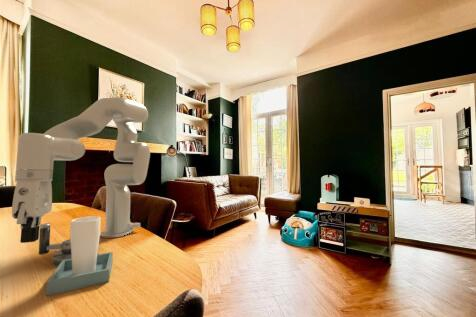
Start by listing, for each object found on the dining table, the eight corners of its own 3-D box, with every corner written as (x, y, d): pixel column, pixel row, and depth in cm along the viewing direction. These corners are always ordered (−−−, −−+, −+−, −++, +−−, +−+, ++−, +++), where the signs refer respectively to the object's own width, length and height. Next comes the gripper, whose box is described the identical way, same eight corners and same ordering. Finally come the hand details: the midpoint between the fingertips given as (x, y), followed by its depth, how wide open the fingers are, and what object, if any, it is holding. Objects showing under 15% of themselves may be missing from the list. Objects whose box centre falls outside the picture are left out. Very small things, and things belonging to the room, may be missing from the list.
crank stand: (88, 260, 65) (88, 250, 65) (50, 268, 59) (51, 258, 59) (87, 244, 77) (87, 236, 77) (56, 250, 72) (56, 242, 72)
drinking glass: (74, 283, 50) (76, 223, 51) (64, 275, 54) (66, 219, 55) (103, 271, 56) (105, 218, 57) (92, 265, 60) (94, 214, 60)
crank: (83, 246, 69) (84, 219, 69) (77, 252, 64) (79, 223, 65) (43, 251, 65) (44, 222, 65) (34, 257, 60) (36, 226, 60)
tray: (112, 262, 63) (112, 251, 64) (108, 281, 53) (109, 269, 53) (62, 271, 58) (62, 260, 58) (46, 296, 47) (46, 282, 47)
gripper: (37, 177, 52) (31, 249, 51) (62, 175, 66) (58, 232, 64) (-3, 177, 49) (-10, 253, 48) (32, 175, 63) (27, 235, 61)
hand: (29, 241), depth 56 cm, fingers closed
